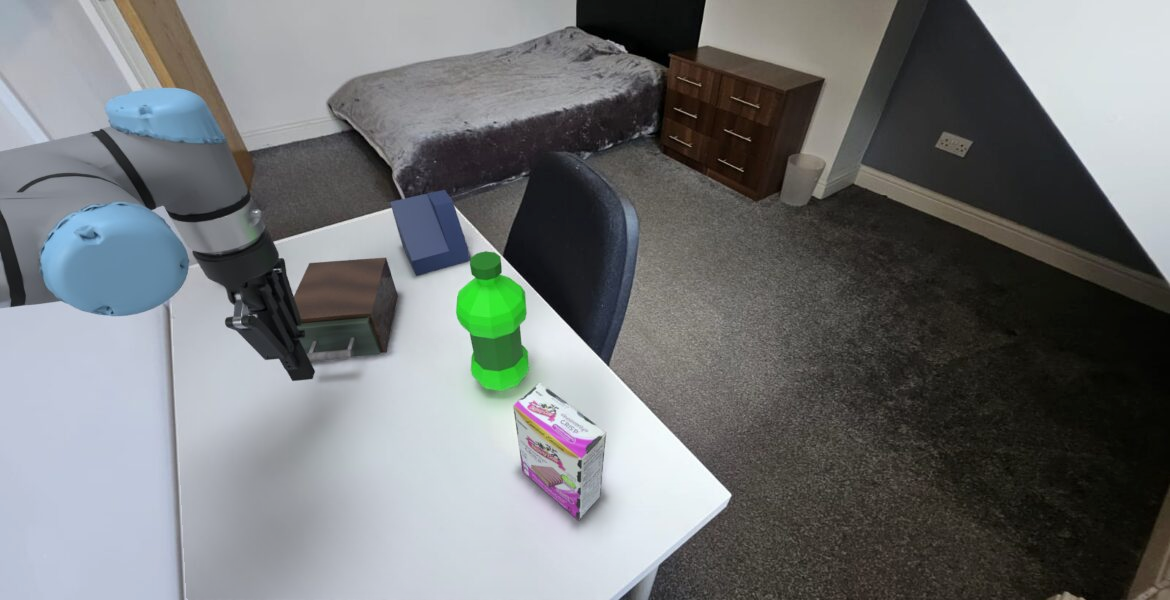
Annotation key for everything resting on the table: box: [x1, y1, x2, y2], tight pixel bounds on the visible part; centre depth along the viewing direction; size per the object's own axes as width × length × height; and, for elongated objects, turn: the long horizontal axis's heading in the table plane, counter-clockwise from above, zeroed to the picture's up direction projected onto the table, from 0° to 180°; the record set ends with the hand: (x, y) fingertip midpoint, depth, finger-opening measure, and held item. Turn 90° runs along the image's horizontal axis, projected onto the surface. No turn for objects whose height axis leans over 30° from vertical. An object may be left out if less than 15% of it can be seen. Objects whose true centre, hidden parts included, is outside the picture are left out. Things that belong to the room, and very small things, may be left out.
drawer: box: [297, 317, 382, 363], centre depth 83 cm, size 19×13×8 cm
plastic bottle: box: [455, 250, 530, 392], centre depth 72 cm, size 10×10×25 cm
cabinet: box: [293, 257, 399, 354], centre depth 86 cm, size 16×14×10 cm
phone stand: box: [389, 189, 470, 277], centre depth 103 cm, size 12×12×12 cm
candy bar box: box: [512, 382, 607, 521], centre depth 61 cm, size 11×5×16 cm, turn 50°
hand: (303, 376), depth 68 cm, fingers closed
